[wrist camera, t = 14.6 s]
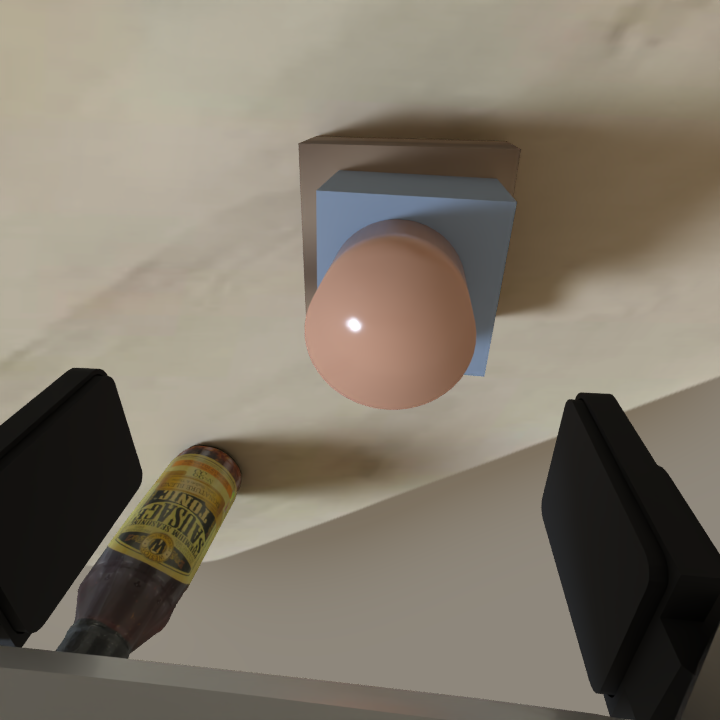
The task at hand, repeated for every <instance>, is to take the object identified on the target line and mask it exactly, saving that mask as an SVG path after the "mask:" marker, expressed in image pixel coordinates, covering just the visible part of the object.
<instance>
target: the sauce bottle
mask: <svg viewBox="0 0 720 720" xmlns="http://www.w3.org/2000/svg"><path fill="white" fill-rule="evenodd" d="M240 484H241V472H240V470H239V467H238V466H237V464H236V463H235V462H234V460H233V459H232V458H231V457H230V456H228V455H227V454H226V453H224V452H223V451H222V450H219V449H216V448H212V447H208V446H201V445H195V446H192V447H190V448H188V449H187V450H184V451H183V452H182V453H180V454H179V455H178V456H177V457H176V458H175V459H174V460H173V461H172V462H171V463H170V464H169V465H168V467H167V468H166V469H165V471H164V472H163V473H162V475H161V476H160V477H159V479H158V480H157V481H156V483H155V484H154V485H153V486H152V488H151V489H150V490H149V491H148V493H147V494H146V495H145V497H144V498H143V499H142V500H141V502H140V503H139V504H138V506H137V507H136V508H135V510H134V511H133V512H132V514H131V515H130V516H129V517H128V519H127V520H126V521H125V523H124V524H123V525H122V527H121V528H120V530H119V531H118V532H117V534H116V535H115V536H114V538H113V539H112V540H111V542H110V543H109V545H108V546H107V548H106V549H105V551H104V552H103V554H102V555H101V556H100V558H99V559H98V561H97V562H96V563H95V565H94V566H93V568H92V569H91V571H90V572H89V573H88V575H87V576H86V577H85V579H84V580H83V582H82V583H81V584H80V587H79V589H78V596H77V607H76V617H75V621H74V624H73V625H72V626H71V627H70V629H69V630H68V631H67V634H66V636H65V638H64V640H63V641H62V643H61V644H60V645H59V647H58V649H57V650H56V651H59V652H68V653H78V654H88V655H97V656H107V657H116V658H125V659H128V657H129V654H130V653H131V652H133V651H134V650H135V649H137V648H138V647H139V646H141V645H142V644H143V643H144V642H146V641H147V640H148V639H150V638H151V637H152V636H153V635H155V634H156V633H158V632H160V631H161V630H162V629H163V628H164V627H165V626H166V624H167V622H168V621H169V619H170V616H171V614H172V612H173V610H174V608H175V607H176V604H177V603H178V601H179V600H180V598H181V597H182V595H183V593H184V592H185V591H186V590H187V588H188V586H189V585H190V583H191V581H192V579H193V577H194V575H195V573H196V571H197V570H198V568H199V566H200V564H201V562H202V560H203V558H204V556H205V554H206V552H207V551H208V549H209V547H210V545H211V543H212V541H213V539H214V537H215V535H216V534H217V532H218V530H219V528H220V526H221V524H222V522H223V521H224V519H225V517H226V515H227V513H228V511H229V509H230V508H231V506H232V504H233V502H234V500H235V498H236V494H237V491H238V490H239V488H240Z"/></svg>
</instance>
